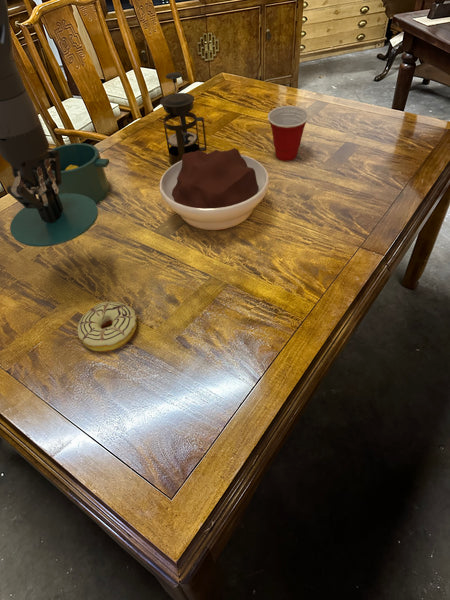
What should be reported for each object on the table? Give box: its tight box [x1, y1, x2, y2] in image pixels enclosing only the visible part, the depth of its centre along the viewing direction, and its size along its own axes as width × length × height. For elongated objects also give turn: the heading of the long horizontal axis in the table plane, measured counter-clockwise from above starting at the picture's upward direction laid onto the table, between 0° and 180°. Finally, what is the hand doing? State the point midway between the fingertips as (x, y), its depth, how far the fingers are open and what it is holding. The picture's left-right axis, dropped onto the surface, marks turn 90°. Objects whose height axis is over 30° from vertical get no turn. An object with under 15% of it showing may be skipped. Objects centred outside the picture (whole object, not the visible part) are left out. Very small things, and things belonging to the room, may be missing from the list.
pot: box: [50, 142, 110, 204], centre depth 107 cm, size 15×20×10 cm
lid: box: [9, 191, 99, 248], centre depth 76 cm, size 16×16×6 cm
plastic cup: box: [267, 105, 310, 162], centre depth 114 cm, size 11×11×12 cm
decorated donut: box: [77, 301, 138, 352], centre depth 76 cm, size 10×11×4 cm
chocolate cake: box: [158, 147, 270, 231], centre depth 96 cm, size 25×25×15 cm
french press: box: [159, 71, 208, 166], centre depth 112 cm, size 12×9×23 cm
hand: (53, 216), depth 77 cm, fingers closed on lid, 2 cm apart
